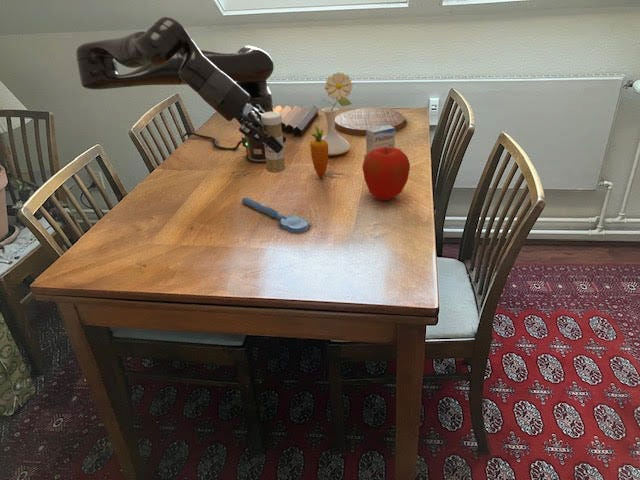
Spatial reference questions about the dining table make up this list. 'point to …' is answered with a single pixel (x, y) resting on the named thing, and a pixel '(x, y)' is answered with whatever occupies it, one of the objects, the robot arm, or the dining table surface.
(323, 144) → the carrot
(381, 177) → the apple
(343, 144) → the flower in vase
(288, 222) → the spoon
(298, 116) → the pan flute
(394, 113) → the trivet
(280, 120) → the sprinkles bottle
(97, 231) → the dining table surface
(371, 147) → the medicine box
